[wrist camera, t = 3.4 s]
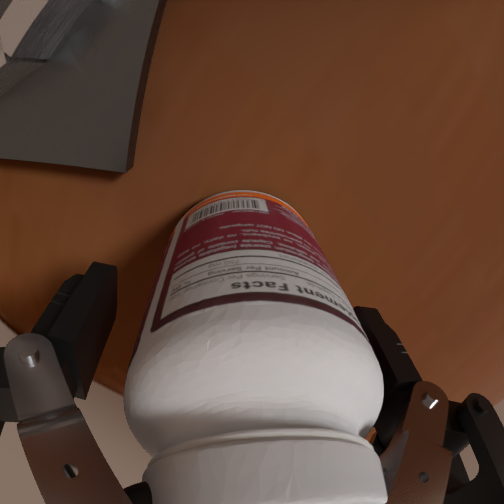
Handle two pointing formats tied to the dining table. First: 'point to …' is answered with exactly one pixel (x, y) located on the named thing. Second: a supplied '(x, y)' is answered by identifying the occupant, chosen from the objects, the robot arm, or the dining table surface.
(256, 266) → the pill bottle
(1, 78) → the collar
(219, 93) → the dining table surface
